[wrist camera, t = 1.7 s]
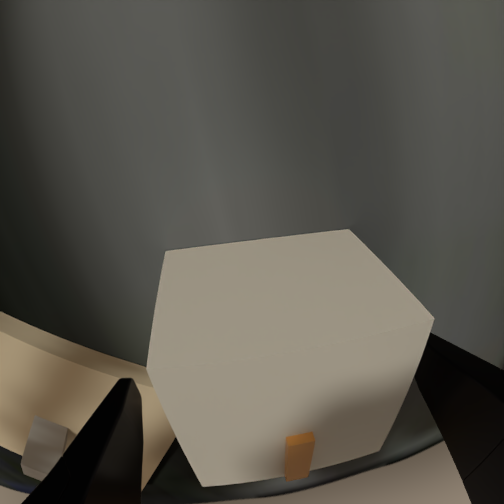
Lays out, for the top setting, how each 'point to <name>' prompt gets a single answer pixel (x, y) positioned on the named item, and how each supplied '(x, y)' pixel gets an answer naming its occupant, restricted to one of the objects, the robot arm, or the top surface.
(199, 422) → the small white box
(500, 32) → the top surface
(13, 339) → the board
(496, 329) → the top surface
